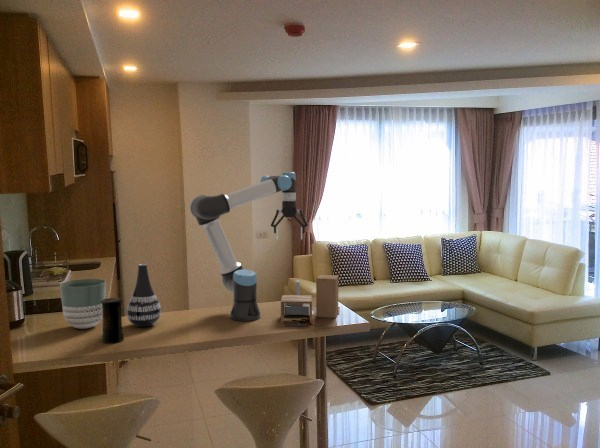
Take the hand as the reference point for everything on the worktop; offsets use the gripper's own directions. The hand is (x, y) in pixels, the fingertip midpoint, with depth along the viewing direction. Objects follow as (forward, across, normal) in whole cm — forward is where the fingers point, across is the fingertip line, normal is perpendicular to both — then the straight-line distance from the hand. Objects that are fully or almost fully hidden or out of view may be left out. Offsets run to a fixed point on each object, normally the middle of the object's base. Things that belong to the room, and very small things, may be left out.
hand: (289, 239), depth 283 cm
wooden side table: (+37, +5, -29) cm, 47 cm away
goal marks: (+37, +5, -17) cm, 41 cm away
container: (+37, -74, -64) cm, 105 cm away
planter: (+37, -95, -44) cm, 111 cm away
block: (+37, +5, -18) cm, 41 cm away
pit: (+37, +5, -40) cm, 54 cm away
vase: (+37, -68, -41) cm, 87 cm away
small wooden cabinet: (+36, +5, -12) cm, 39 cm away
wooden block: (+37, +20, -22) cm, 47 cm away
